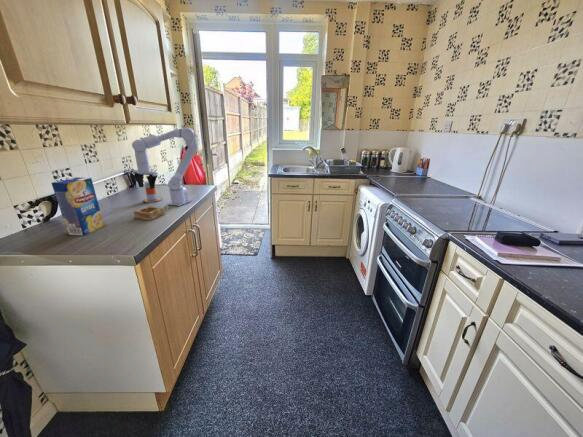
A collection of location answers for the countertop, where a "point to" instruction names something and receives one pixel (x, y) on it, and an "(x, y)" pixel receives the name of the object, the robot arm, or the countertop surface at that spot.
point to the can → (150, 192)
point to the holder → (148, 213)
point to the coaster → (152, 201)
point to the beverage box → (78, 205)
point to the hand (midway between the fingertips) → (147, 187)
